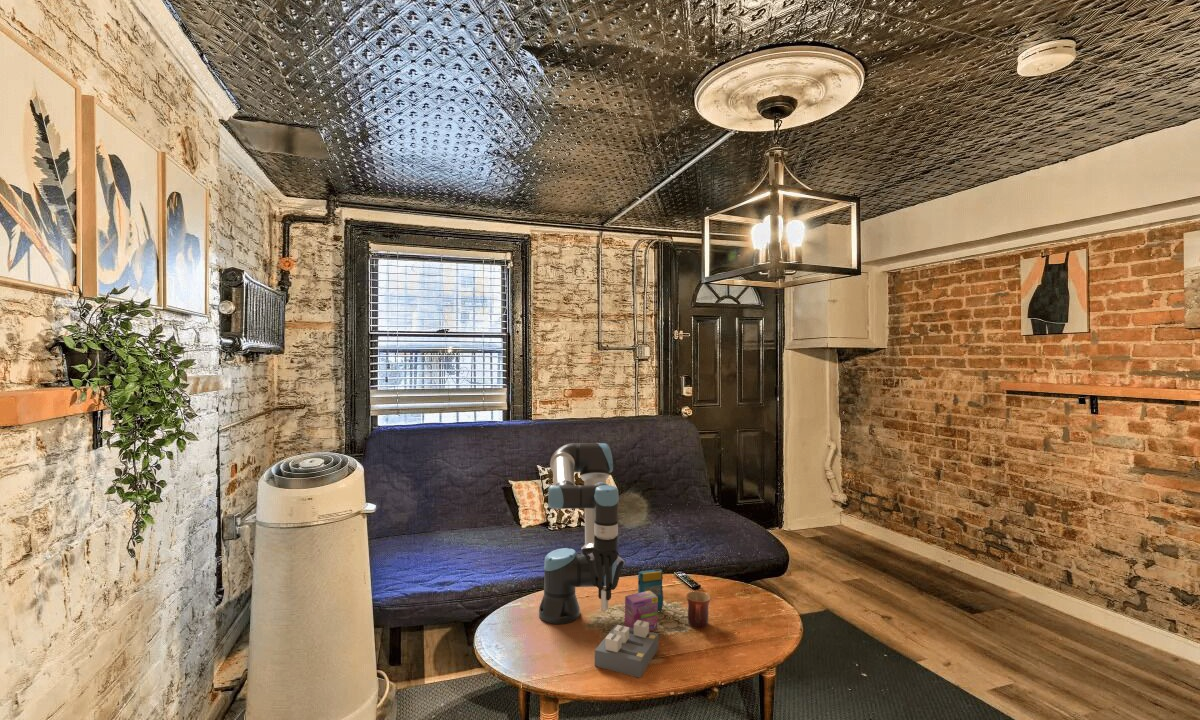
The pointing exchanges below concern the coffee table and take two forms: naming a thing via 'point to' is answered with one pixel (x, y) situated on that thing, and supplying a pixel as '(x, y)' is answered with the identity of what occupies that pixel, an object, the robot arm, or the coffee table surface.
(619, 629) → the slider
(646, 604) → the box
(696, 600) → the mug
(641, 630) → the slider
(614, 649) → the slider
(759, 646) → the coffee table surface
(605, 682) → the coffee table surface
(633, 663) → the switch unit
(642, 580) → the teal carton
